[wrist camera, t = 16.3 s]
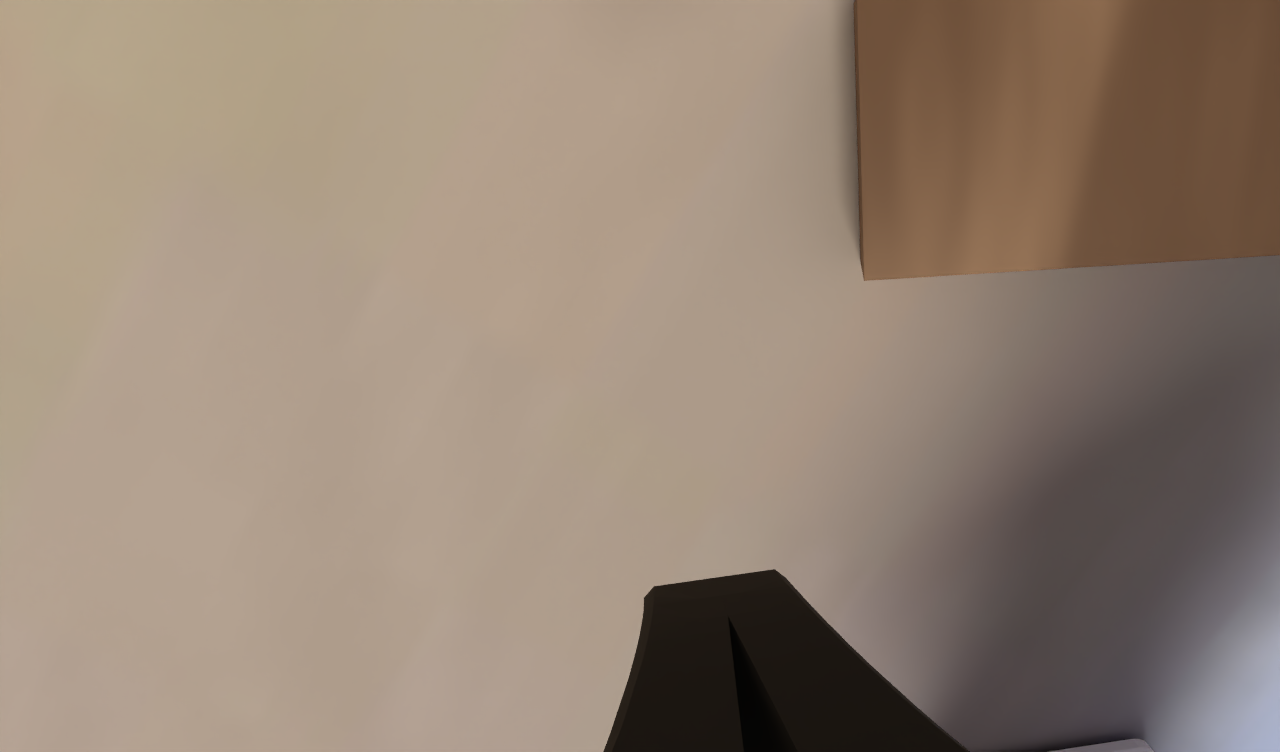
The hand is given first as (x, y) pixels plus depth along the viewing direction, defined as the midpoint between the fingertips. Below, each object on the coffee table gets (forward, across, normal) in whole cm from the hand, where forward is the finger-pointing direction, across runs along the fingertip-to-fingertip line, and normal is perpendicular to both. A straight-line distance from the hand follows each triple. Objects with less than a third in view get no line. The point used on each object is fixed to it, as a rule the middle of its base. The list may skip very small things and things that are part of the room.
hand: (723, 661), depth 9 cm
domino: (+9, -4, -4) cm, 11 cm away
